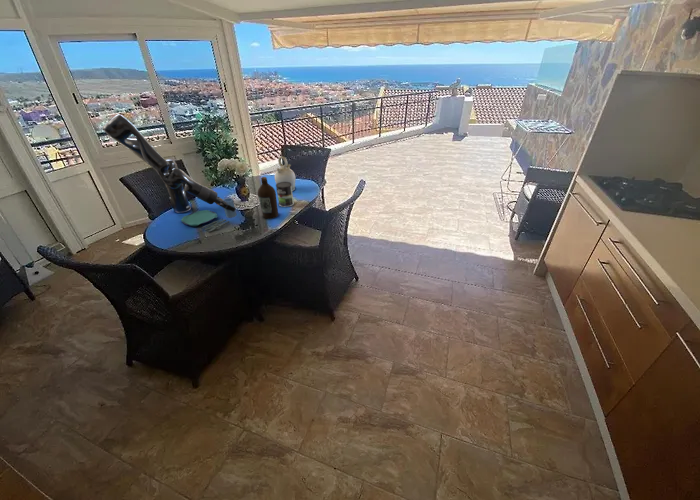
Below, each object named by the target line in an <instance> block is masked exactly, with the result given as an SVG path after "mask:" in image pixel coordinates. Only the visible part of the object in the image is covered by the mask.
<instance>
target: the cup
mask: <svg viewBox="0 0 700 500" xmlns="http://www.w3.org/2000/svg"><path fill="white" fill-rule="evenodd" d="M222 199H223V201H225V202H227V204H228V205H230V206H232V207H234V208H235V211H234V212H233V211H231V210H227V209H225V208H223V211H224V214H225V217H226V218H227V219H233V218H235V217H237V216H238V215H237V210H236V207H235V203H234V199H233V198H232V197H226V198H222ZM226 207H227V206H226Z"/></svg>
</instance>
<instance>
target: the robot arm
mask: <svg viewBox="0 0 700 500" xmlns="http://www.w3.org/2000/svg"><path fill="white" fill-rule="evenodd" d="M102 130H103V131H104V133H105V134H106V135H107V136H109V137H110V138H111V139H112V140H114V141H116V142H117V143H119V144H120V145H122V146H123V147H125V148H127V149H128V150H129V151H131V153H132V154H134V155H135V156H136V157H138V158H139V159H140V160H141V161H143V162H145V163H146V164H147V165H148V166H149V167H151V168H152V169H153V170H154V171H155V172H156V173H157V175H159V177H160V179H161V180H162V182H163V183H164V185H165V187H166V190H167V192H168V195H169V198H168V199H169V202H170V204H171V206H172V209H173V212H175V213H177V214H184V213H187V212H190V211H191V210H192V208H191V207H192V206H191V205H190V202H189V199H188V196H187V193H188V194H190V195H192V196H194V197H195V198H197V199H199V200H200V201H203V202H205V203H207V204H209V205H213V204H215V205H217V206H219V207H221V208H223V209H224V208H225V209H227V210H231V211H233V212H234V211H235V210H236V207H235V208H234V207H232V206H230V205H228V204H227V202H225V201H223V199H224V198H221V197H220V196H218V192H217V191H215V190H213V189H211V188H209V187H208V186H206V185H203V184H201V183H200V182H198V181H196V180H194V179H193V178H192V177H190V176H189V175H188V174H187V173H186V172H185V171H183V170H182V169H180V168H179V167H178V164H177V161H176V160H174V159H166V158H164V157H163V156H162V155H161V154H160V153H159V152H158V151H157V149H156V148H155V147H154V146H153V145H152V144H151V143H150V142H149V141H148V140H147V138H146V137H145V136H144V135H143V134H142V133H141V132H140V131H139V130H138V128H136V126H135V125H134V124H133V123H132V122H131V121H129V119H127V118H126V117H125V116H124V115H122V114H116V115H115V116H113V117H112V118H111V119H110V120H108V121H107V122H105V124H104V125H102ZM132 135H133V136H134V138H129V137H131V136H132ZM183 183H185V185H184V184H183ZM226 206H227V207H226Z"/></svg>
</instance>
